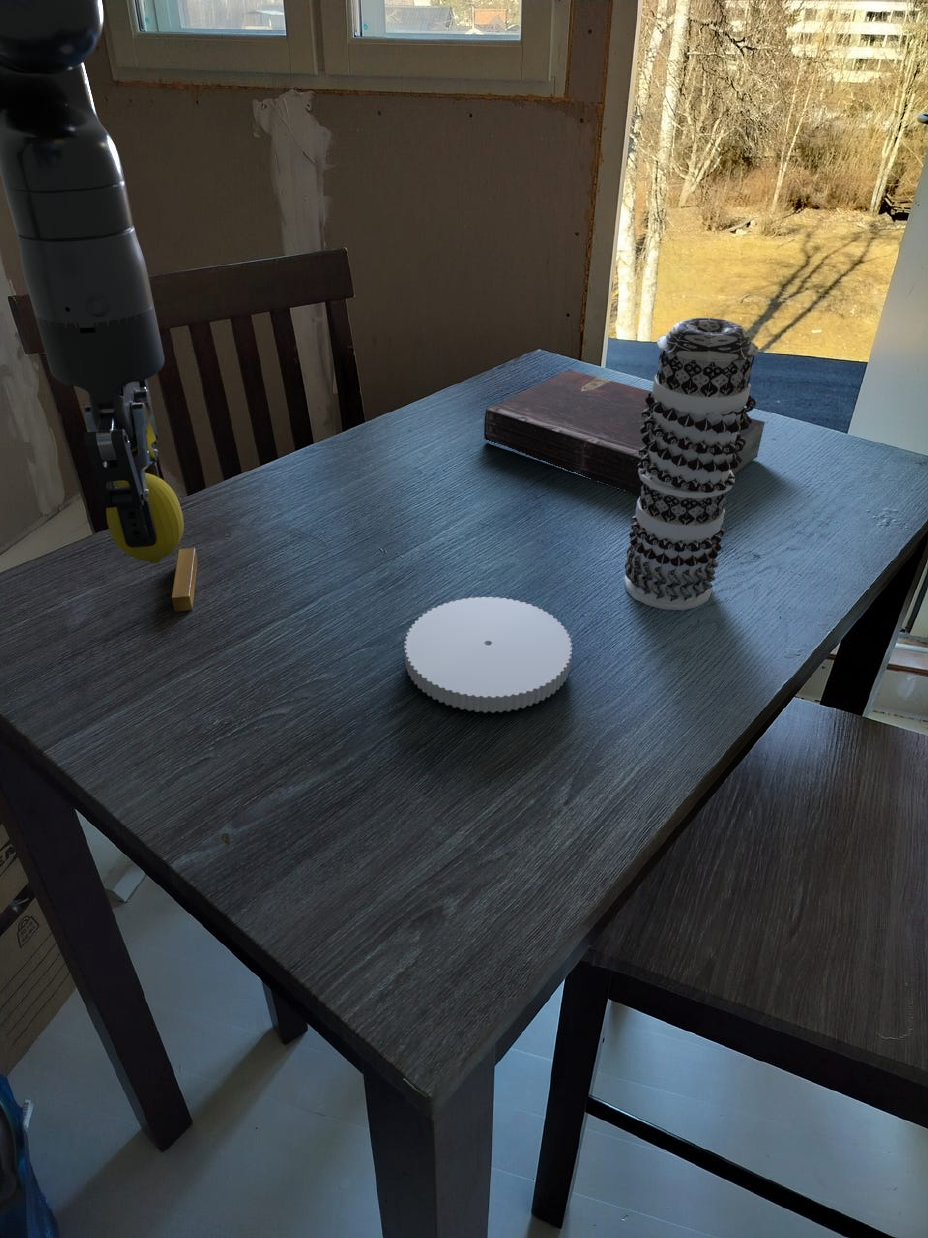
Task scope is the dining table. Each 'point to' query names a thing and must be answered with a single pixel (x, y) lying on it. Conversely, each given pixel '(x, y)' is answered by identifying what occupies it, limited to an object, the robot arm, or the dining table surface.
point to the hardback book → (586, 427)
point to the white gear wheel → (488, 654)
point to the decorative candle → (689, 461)
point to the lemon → (165, 522)
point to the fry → (185, 580)
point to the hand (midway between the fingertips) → (146, 524)
